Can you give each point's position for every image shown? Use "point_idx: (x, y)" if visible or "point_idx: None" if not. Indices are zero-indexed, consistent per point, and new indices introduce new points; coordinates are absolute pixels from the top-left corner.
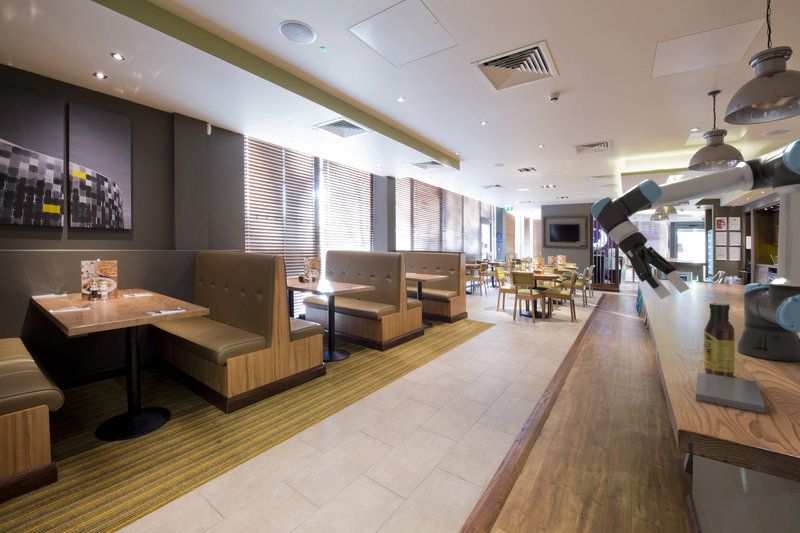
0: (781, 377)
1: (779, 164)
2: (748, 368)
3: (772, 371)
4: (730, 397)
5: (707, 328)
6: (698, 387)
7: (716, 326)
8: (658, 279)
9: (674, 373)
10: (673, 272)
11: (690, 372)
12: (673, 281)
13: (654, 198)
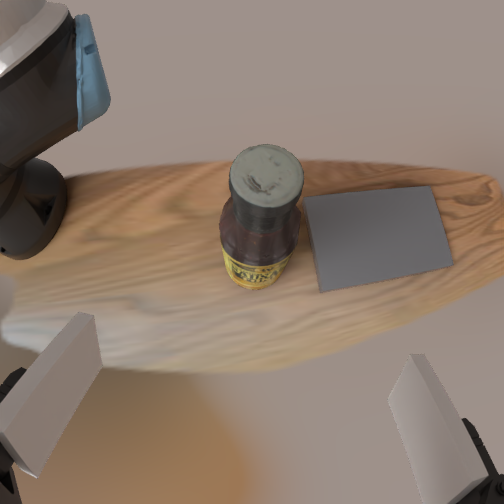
0: (191, 176)
1: None
2: (157, 225)
3: (153, 191)
4: (431, 223)
5: (284, 250)
6: (423, 268)
7: (295, 220)
8: (461, 446)
9: (321, 338)
10: (13, 429)
11: (285, 314)
12: (59, 414)
13: None
